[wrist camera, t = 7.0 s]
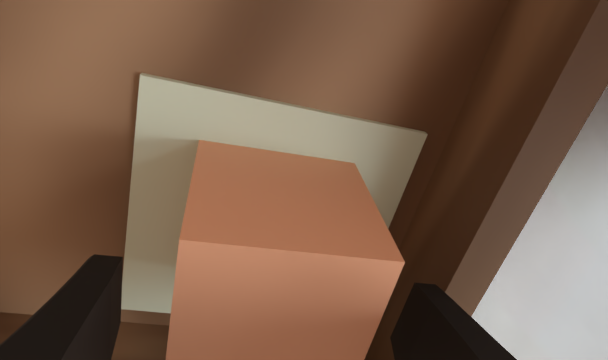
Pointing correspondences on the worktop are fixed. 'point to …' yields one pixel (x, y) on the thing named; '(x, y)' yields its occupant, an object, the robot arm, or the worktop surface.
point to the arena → (281, 129)
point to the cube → (278, 259)
